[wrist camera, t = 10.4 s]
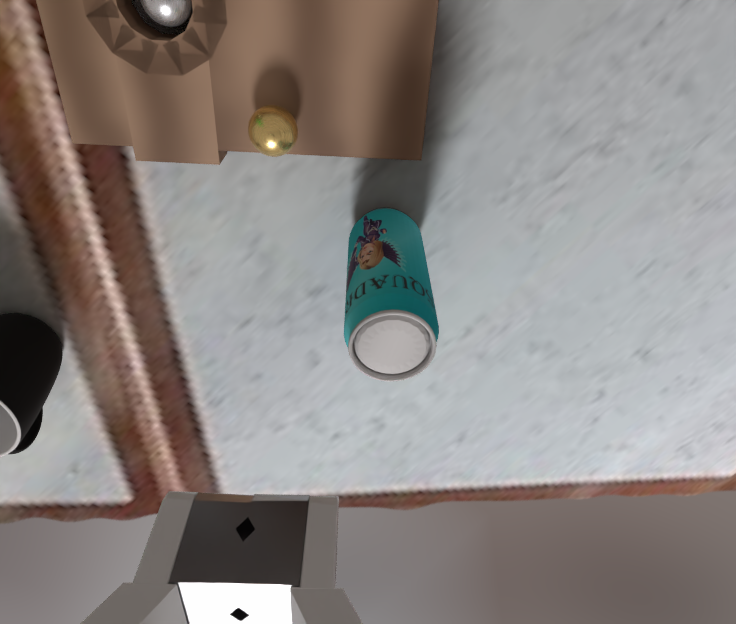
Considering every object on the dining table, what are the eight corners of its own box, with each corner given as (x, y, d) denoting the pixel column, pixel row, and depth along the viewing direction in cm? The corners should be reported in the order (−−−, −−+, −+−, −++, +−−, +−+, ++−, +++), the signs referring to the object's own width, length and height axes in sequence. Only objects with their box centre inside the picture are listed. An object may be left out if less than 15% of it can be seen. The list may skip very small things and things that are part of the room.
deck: (454, -200, 30) (461, -210, 27) (416, 162, 41) (419, 174, 39) (1, -232, 29) (-27, -245, 27) (91, 146, 40) (76, 157, 38)
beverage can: (393, 185, 42) (404, 290, 30) (433, 239, 45) (460, 356, 32) (334, 227, 44) (322, 341, 31) (377, 276, 46) (381, 399, 34)
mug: (-45, 302, 48) (-132, 379, 39) (56, 297, 48) (-10, 374, 39) (12, 402, 55) (-52, 486, 46) (101, 398, 54) (53, 482, 46)
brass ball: (299, 100, 36) (294, 113, 33) (300, 148, 38) (295, 164, 35) (251, 98, 36) (241, 110, 33) (254, 146, 38) (245, 162, 35)
